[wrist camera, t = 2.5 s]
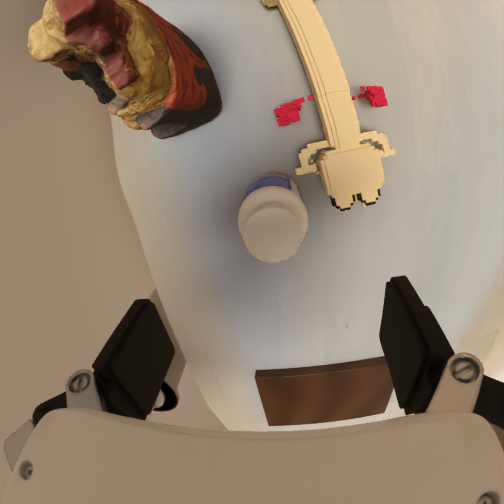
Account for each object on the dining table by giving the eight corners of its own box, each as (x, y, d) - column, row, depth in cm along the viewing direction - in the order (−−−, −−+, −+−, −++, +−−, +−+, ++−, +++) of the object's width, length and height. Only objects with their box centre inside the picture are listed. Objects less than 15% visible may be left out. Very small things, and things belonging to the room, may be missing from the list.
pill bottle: (235, 200, 27) (214, 240, 19) (271, 159, 25) (266, 179, 17) (277, 233, 29) (275, 286, 20) (313, 196, 26) (329, 234, 18)
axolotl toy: (232, -3, 18) (304, 218, 27) (211, -47, 10) (312, 251, 19) (324, -21, 16) (397, 197, 24) (334, -66, 8) (439, 220, 16)
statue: (132, 63, 21) (-32, 40, 4) (202, 30, 20) (78, -73, 2) (166, 163, 26) (9, 248, 8) (240, 136, 24) (138, 175, 7)
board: (269, 419, 45) (268, 426, 44) (255, 370, 39) (254, 378, 37) (382, 406, 42) (384, 412, 40) (399, 353, 35) (402, 360, 34)
